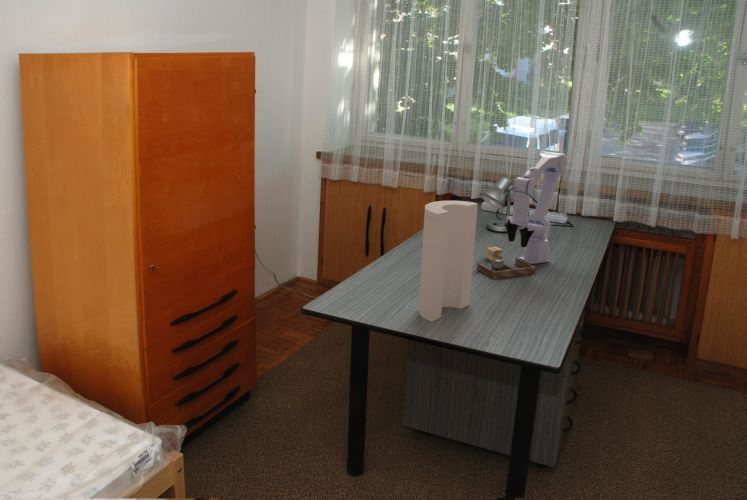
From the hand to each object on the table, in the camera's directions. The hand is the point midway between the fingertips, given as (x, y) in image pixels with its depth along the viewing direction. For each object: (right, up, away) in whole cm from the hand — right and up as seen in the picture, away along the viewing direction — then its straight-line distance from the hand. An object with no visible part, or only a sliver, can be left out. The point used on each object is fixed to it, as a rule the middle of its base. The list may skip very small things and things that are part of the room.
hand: (517, 244), depth 281 cm
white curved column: (-33, -22, -39) cm, 56 cm away
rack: (-4, -10, +1) cm, 11 cm away
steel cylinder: (-8, -11, -1) cm, 14 cm away
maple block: (-7, -6, +15) cm, 18 cm away
